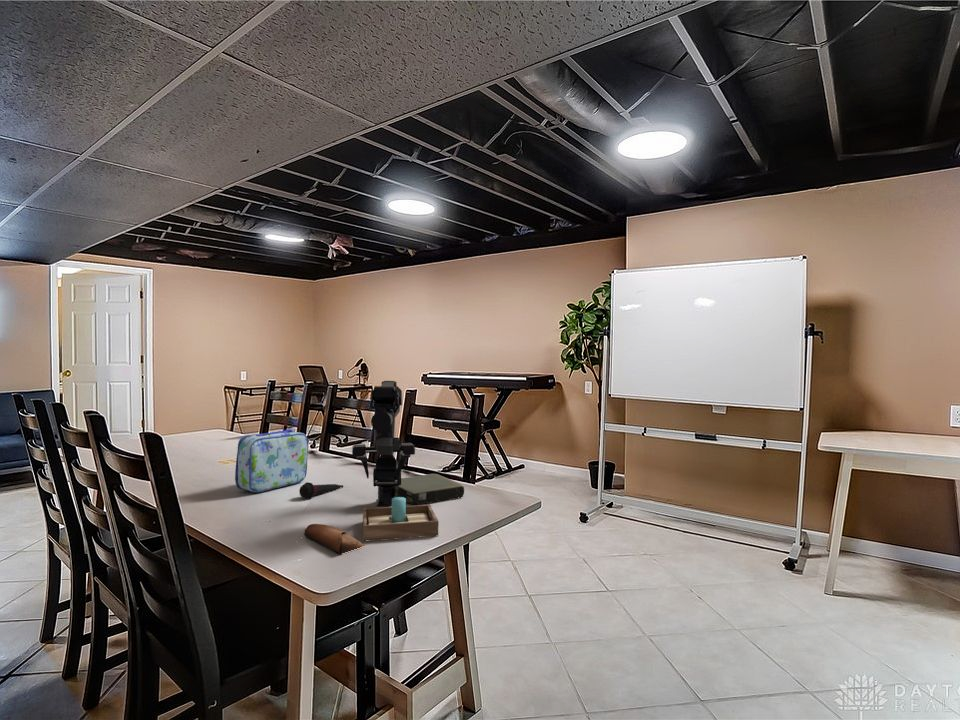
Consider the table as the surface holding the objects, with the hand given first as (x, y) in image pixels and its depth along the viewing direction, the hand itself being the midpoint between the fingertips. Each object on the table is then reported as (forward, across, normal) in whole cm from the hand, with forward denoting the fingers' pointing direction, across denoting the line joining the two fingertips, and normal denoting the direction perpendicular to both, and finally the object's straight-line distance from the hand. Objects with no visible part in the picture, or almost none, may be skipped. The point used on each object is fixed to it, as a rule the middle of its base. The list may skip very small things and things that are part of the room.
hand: (383, 477), depth 152 cm
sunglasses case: (+13, -14, -19) cm, 26 cm away
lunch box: (+12, -38, +44) cm, 59 cm away
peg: (+12, +4, -10) cm, 16 cm away
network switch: (+13, +16, +22) cm, 30 cm away
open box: (+12, +4, -12) cm, 17 cm away
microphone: (+12, -19, +30) cm, 38 cm away
